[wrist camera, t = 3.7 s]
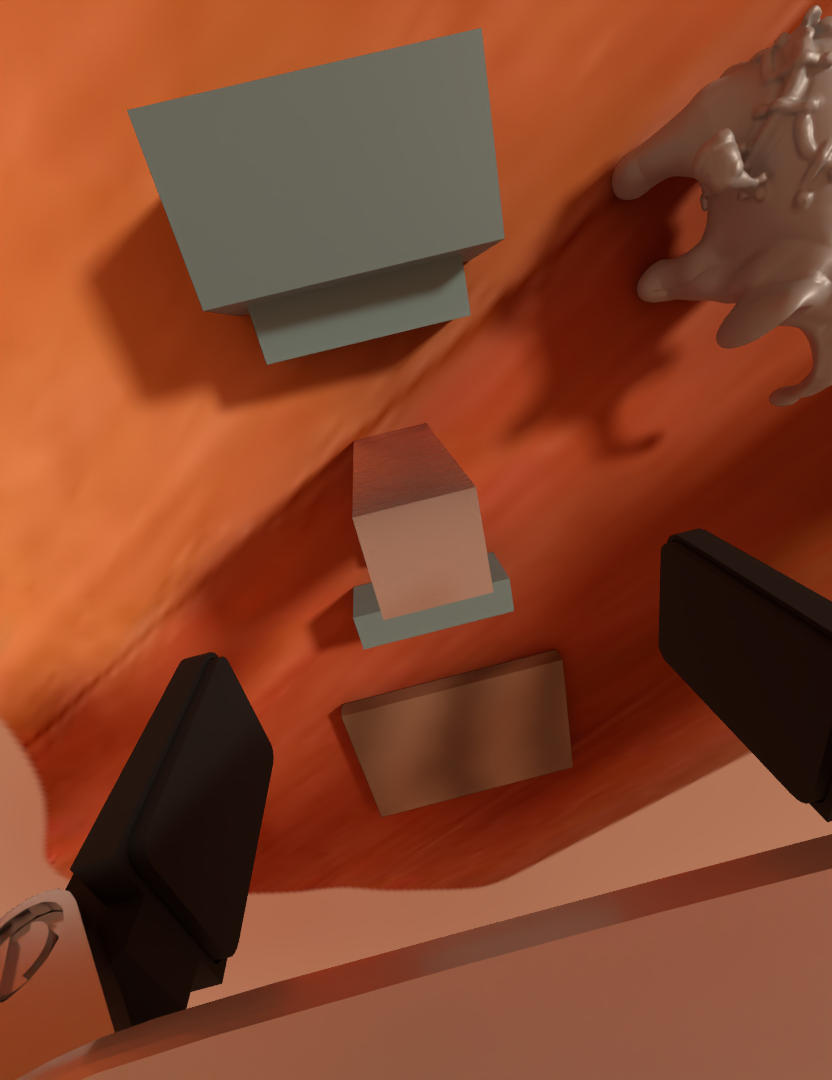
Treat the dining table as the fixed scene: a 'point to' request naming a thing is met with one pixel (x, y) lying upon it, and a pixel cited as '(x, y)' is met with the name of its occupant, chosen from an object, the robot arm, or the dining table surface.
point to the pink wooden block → (417, 522)
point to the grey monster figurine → (755, 196)
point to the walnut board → (462, 733)
